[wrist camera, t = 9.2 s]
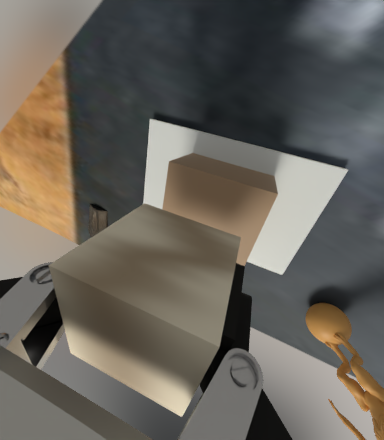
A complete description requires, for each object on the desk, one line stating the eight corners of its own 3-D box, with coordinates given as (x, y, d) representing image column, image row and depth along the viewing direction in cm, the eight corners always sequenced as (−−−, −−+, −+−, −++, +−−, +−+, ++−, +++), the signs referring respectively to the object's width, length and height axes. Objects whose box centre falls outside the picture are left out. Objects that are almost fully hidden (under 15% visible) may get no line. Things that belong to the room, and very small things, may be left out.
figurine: (326, 276, 20) (389, 429, 10) (387, 301, 19) (528, 501, 9) (287, 319, 24) (304, 458, 14) (335, 342, 23) (391, 508, 13)
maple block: (241, 237, 9) (219, 347, 5) (212, 304, 12) (182, 416, 7) (144, 203, 10) (48, 265, 6) (138, 272, 13) (70, 353, 8)
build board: (344, 168, 16) (385, 188, 10) (281, 270, 22) (287, 316, 16) (154, 119, 19) (112, 116, 14) (145, 218, 25) (113, 242, 20)
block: (113, 207, 28) (106, 212, 26) (111, 240, 31) (104, 246, 29) (91, 200, 28) (83, 204, 27) (91, 233, 31) (83, 238, 29)
